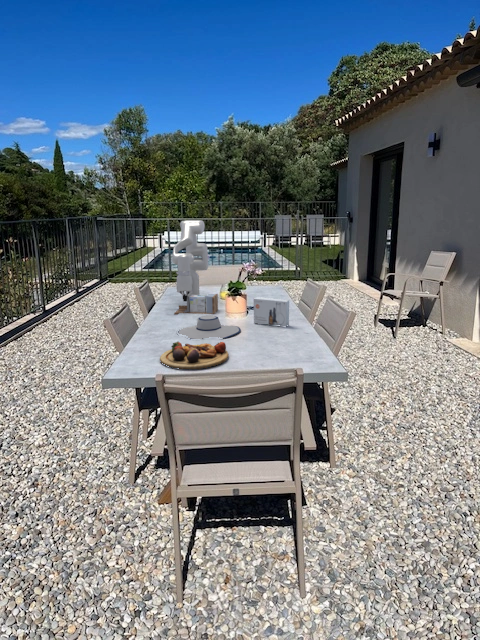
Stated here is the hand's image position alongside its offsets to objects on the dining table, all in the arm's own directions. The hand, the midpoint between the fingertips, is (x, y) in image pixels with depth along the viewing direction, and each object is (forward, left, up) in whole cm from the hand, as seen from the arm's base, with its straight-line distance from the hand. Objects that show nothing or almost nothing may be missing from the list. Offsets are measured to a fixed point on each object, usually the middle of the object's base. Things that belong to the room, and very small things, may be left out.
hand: (185, 301), depth 298 cm
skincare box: (+25, +59, -8) cm, 65 cm away
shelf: (0, +7, -8) cm, 11 cm away
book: (0, +17, -7) cm, 19 cm away
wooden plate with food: (+90, +29, -9) cm, 95 cm away
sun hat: (+43, +25, -9) cm, 51 cm away
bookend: (0, +2, -7) cm, 7 cm away
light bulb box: (0, +9, -7) cm, 11 cm away
